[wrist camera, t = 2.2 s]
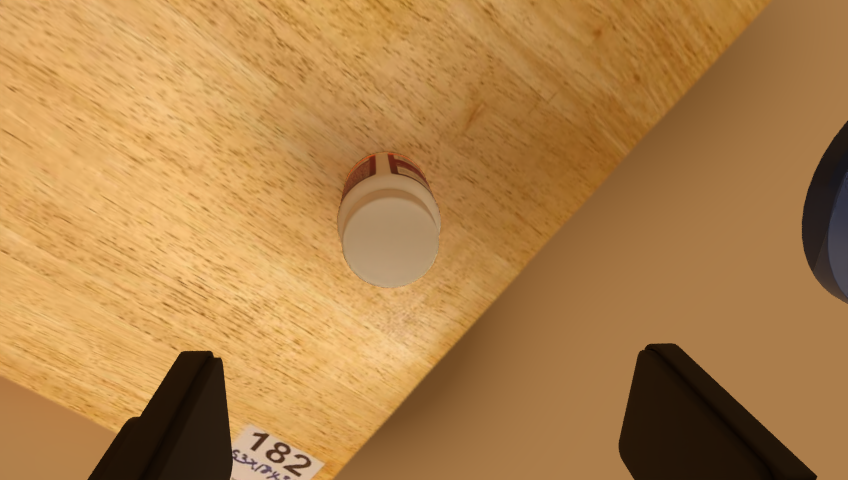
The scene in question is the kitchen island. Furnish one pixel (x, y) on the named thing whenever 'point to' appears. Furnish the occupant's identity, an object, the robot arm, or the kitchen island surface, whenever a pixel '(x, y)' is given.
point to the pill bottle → (388, 221)
